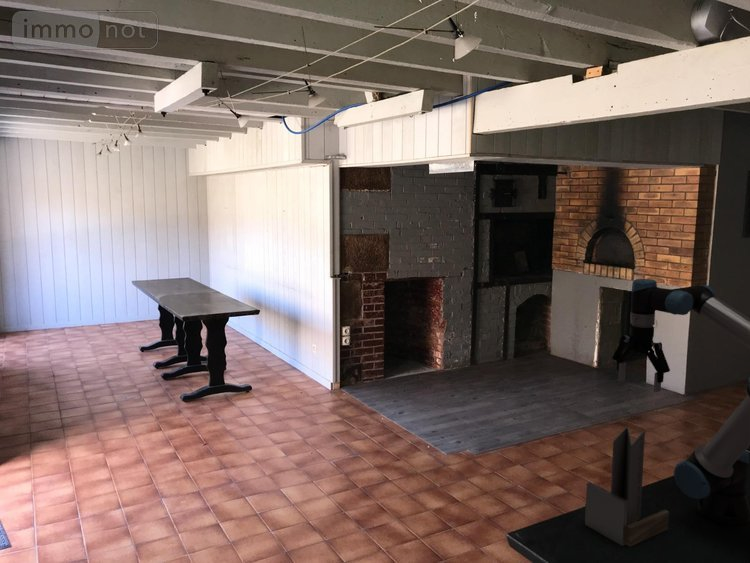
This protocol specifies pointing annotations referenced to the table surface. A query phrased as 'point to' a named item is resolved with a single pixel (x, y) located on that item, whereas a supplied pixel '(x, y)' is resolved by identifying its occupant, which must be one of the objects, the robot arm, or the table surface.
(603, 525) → the bookend
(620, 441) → the brochure
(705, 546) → the table surface
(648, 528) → the slot rails
